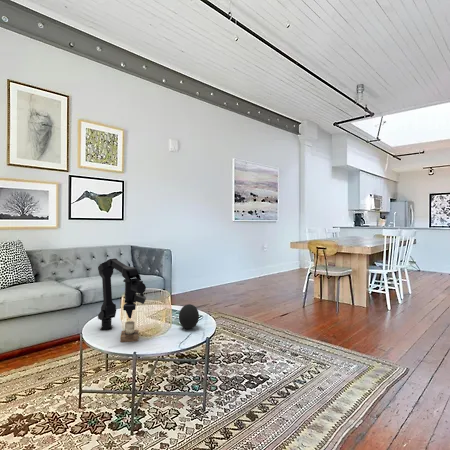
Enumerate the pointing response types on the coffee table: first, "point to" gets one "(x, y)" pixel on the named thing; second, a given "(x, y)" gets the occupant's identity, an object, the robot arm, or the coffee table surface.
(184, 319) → the decorative egg
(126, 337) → the brown square frame
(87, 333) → the coffee table surface
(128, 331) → the peg
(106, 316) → the robot arm
